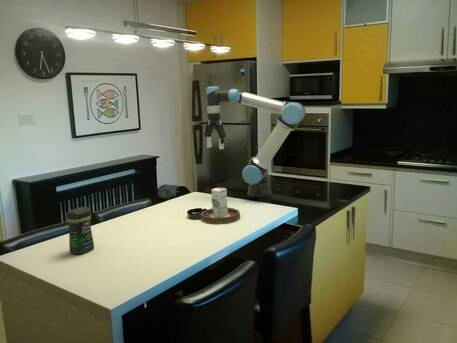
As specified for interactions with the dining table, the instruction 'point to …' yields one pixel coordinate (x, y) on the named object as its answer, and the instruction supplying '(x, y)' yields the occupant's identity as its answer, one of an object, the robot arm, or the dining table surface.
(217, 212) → the syrup box
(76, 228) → the coffee jar
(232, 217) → the round tray
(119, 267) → the dining table surface
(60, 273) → the dining table surface
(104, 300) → the dining table surface
